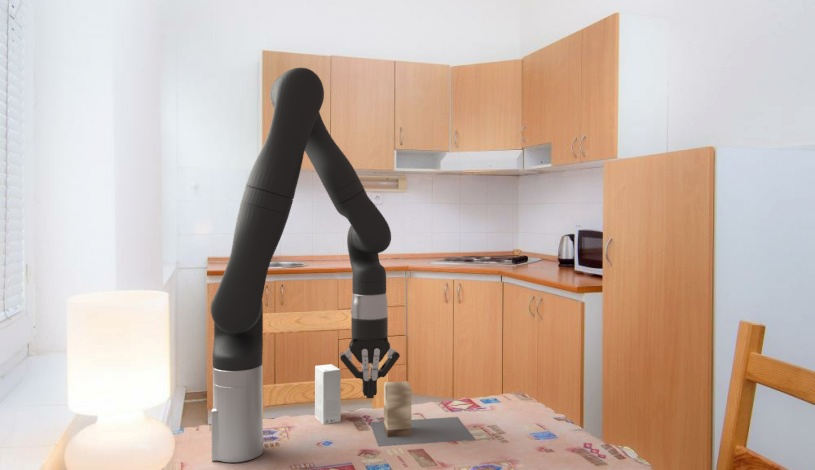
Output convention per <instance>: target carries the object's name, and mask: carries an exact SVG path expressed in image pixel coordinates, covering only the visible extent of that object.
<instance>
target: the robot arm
mask: <svg viewBox="0 0 815 470" xmlns="http://www.w3.org/2000/svg"><path fill="white" fill-rule="evenodd" d="M324 89H325V88H324V85H323V82H322V80H321V79H320V77H319V75H318V74H317V73H316V72H314V71H313V70H312V69H309V68H306V67H294V68H291V69H289V70H287V71H285V72H284V73H282V74H280V75H279V76H278V77H277V78H276V79H275V80H274V82H273V83H272V86H271V87H270V93H269V95H270V97H269V98H270V101H271V104H272V107H273V113H272V117H271V118H272V119H271V122H270V123H271V124H270V127H269V130H268V133H267V137H266V139H265V141H264V143H263V146H262V147H261V149H260V151H259V154H258V155H257V157H256V159H255V161H254V163H253V166H252V168H251V171H250V173H249V174H248V177H247V181H246V184H245V186H244V191H243V193H242V197H241V201H240V204H239V208H238V214H237V218H236V222H235V227H234V231H233V232H234V234H233V238H232V244H231V250H230V255H229V259H228V261H227V264H226V267H225V270H224V271H223V272H224V273H223V275H222V278H221V281H220V283H219V285H218V288H217V289H216V292H215V293H214V295H213V298H212V300H211V302H210V303H211V305H210V314H211V318H212V320H213V322H214V323H213V326H214V327H213V329H214V330H213V339H214V340H213V349H212V408H211V413H210V414H211V419H210V420H211V425H210V426H211V461H214V462H215V461H218V462H224V463H242V462H247V461H251V460H253V459H256V458H258V457H259V456H261V455H262V454H263V451H264V432H263V431H264V423H263V420H264V416H263V414H264V413H263V412H264V409H263V405H264V403H263V397H264V395H263V390H264V389H263V386H264V385H263V382H264V381H263V377H264V376H263V375H264V374H263V356H264V355H263V354H264V351H263V350H264V349H263V348H264V339H263V338H264V336H263V335H264V333H263V332H264V331H263V330H264V326H263V325H264V322H263V321H264V316H263V315H264V307H263V306H264V305H263V298H264V291H265V285H266V280H267V275H268V272H269V269H270V268H269V267H270V264H271V262H272V260H273V257H274V254H275V252H276V250H277V247H278V245H279V243H280V240H281V239H282V238H281V237H282V235H283V233H284V230H285V227H286V224H287V222H288V219H289V217H290V216H289V215H290V213H291V209H292V206H293V201H294V198H295V193H296V190H297V187H298V183H299V178H300V174H301V169H302V165H303V160H304V155H305V154H306V155H307V157H308V159H309V161H310V163H311V164H312V166H313V168H314V170H315V172H316V173H317V175H318V178H319V180H320V182H321V183H322V185H323V187H324V189H325V191H326V193H327V196H328V197H329V199H330V201H331V203H332V204H333V206H334V208H335V210H336V211H337V213H338V214H339V215H341V216H343V217H345V218H346V220H348V222H349V224H350V226H349V228H348V231H347V239H346V240H347V241H346V242H347V243H346V245H347V252H348V257H349V262H350V266H351V270H352V279H351V280H352V282H351V283H352V284H351V285H352V286H351V287H352V290H351V291H352V295H351V307H350V309H351V310H350V315H351V319H350V320H351V324H350V325H351V329H350V330H351V340H350V342H349V345H348V348H347V350H345V351H344V352H341V353H339V358H340V361H341V362H342V363H343V364H344V366H345V368H347V369H348V371H349V372H350V373H351V374H352V375H353V377H354V378H356V379H360V380H362V394H363V396H364V397H365V398H366V399H374V398H375V396H376V395H377V393H378V379H380V378H384V377H386V376H387V375H388V373H389V372H390V370H391V369H392V368H393V367H394V365H395V364H396V363H397V361H398V360H399V358H401V357H400V356H401V355H400V353H399V351H398V350H394V349H393V348H392V347H391V344H390V342H389V337H388V335H389V333H388V331H389V330H388V328H389V327H388V326H389V325H388V324H389V323H388V321H389V320H388V317H389V316H388V312H389V310H388V309H389V308H388V298H387V273H386V268H385V267H384V266H383V265H382V264H381V262H380V258H379V256H380V255H379V254H381V253H383V252H385V251H386V250H387V249H388V248H389V247H390V244H391V241H392V232H391V228H390V225H389V223H388V222H387V220H386V218H385V216H384V215H383V214H382V213H381V211H380V209H379V208H377V206H376V205H375V203H374V202H373V201H372V200H371V198H370V197H369V196H368V194H367V191H366V190H365V187H364V185H363V184H362V181H361V180H360V178H359V176H358V174H357V172H356V170H355V168H354V166H353V165H352V163H351V161H350V160H349V159H348V158H347V156H346V155H345V154H344V152H343V151H342V150H341V148H340V147H339V146H338V145H337V143H336V142H335V140H334V139H333V137H332V135H331V134H330V132H329V131H328V128H327V127H326V125H325V123H324V121H323V119H322V116H321V113H320V110H321V109H322V106H323V103H324V100H325V90H324ZM352 355H353V356H354V358H355V360H357V362H358V363H360V365H361V366H360V367H361V370H359V369H358V368H357V367H356V365H355V364H354V363H353V361H352V360H353V356H352ZM385 356H386V357H387V359H386V360H385V361H384V363H383V364H382V365H381V367H380V363H381V362H382V360H384V357H385ZM369 364H370V365H369ZM379 367H380V368H379ZM369 368H370V369H369Z"/></svg>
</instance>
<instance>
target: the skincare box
mask: <svg viewBox="0 0 815 470" xmlns="http://www.w3.org/2000/svg"><path fill="white" fill-rule="evenodd" d="M341 370H342V369H340V368H338V367H337V366H335V365H334V364H333V363H330V364H322V365H320V364H319V365H315V366H314V372H315V373H314V417H315V418H316V419H317V420H318V421H319V422H320V423H321V424H322V425H328V424H333V423H335V424H336V423H340V422H342V421H341V420H342V419H341V418H342V415H341V413H342V411H341V410H342V407H341V406H342V404H341V403H342V402H341V401H342V398H341V396H342V392H341V391H342V389H341V388H342V385H341V383H342V382H341V381H342V380H341V379H342V378H341V377H342V375H341V374H342V372H341ZM315 415H316V416H315Z"/></svg>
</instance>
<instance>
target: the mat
mask: <svg viewBox="0 0 815 470" xmlns="http://www.w3.org/2000/svg"><path fill="white" fill-rule="evenodd" d="M369 424H370V427H371V430H372V433H373V435H374V438H375V441H376V444H377V446H378V447H389V446H402V445H418V444H419V445H420V444H434V443H449V442H461V441H463V442H464V441H476V438H475V437H474V436H473V434H471V431H469V429H468V428H467V427H466V426H465V425H464V423H463V422H462V420H461V419H460V418H459V417H458V416H453V417H452V416H451V417H436V418H435V417H433V418H421V419H420V418H415V419H411V436H397V437H387V435H386V432H385V430H384V420H383V421H370V422H369Z"/></svg>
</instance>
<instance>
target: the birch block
mask: <svg viewBox="0 0 815 470" xmlns="http://www.w3.org/2000/svg"><path fill="white" fill-rule="evenodd" d="M411 420H412V386H411V385H410V383H409V381H388V382H387V381H385V382H383V421H384V430H385V432H386V435H387V437H397V436H411Z"/></svg>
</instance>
